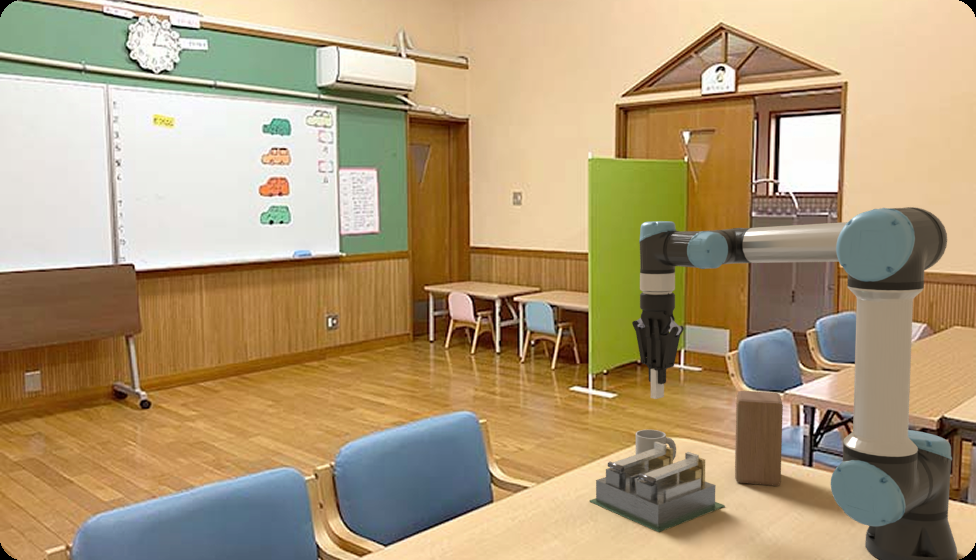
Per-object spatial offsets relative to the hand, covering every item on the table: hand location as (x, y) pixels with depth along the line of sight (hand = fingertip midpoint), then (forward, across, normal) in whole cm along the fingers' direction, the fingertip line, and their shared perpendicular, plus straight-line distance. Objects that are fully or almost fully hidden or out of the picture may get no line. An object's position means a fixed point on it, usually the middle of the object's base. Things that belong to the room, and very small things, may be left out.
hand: (657, 397), depth 176 cm
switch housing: (+23, -3, +4) cm, 23 cm away
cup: (+23, +12, -13) cm, 28 cm away
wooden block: (+23, -8, -26) cm, 36 cm away
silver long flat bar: (+14, +1, +5) cm, 15 cm away
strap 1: (+14, -8, +5) cm, 17 cm away
